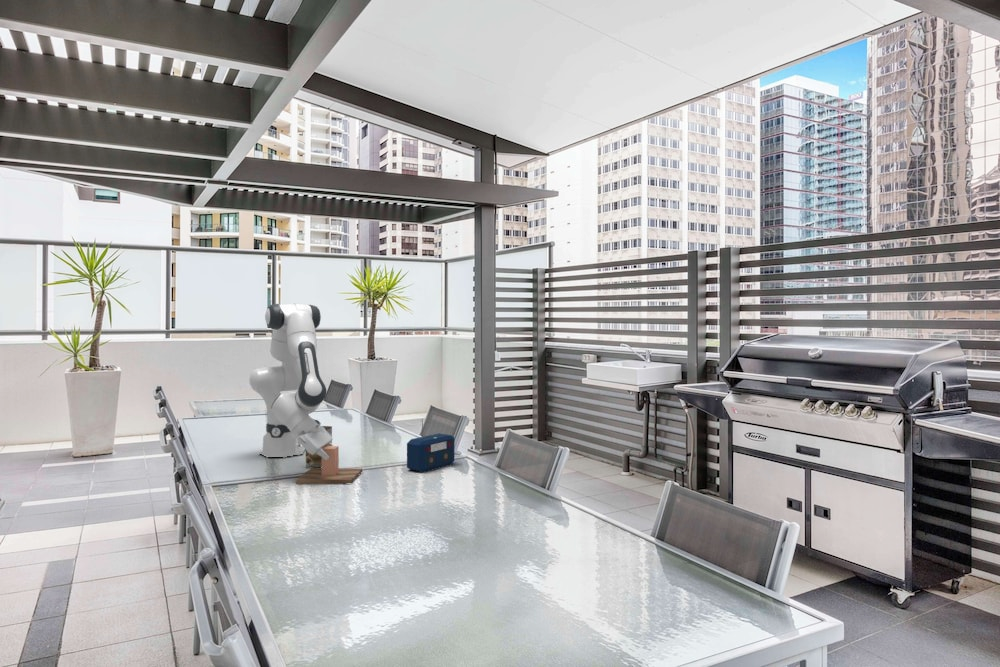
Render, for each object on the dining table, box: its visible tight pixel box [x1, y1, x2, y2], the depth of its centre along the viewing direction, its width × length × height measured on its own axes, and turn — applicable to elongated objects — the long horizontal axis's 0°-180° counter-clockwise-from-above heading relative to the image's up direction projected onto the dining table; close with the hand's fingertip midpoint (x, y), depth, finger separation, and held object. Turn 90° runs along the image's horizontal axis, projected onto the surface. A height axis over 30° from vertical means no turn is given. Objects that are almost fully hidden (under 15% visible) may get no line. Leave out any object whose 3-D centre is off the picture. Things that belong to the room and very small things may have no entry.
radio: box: [406, 419, 455, 473], centre depth 258 cm, size 21×9×20 cm, turn 143°
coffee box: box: [305, 425, 333, 468], centre depth 260 cm, size 9×6×16 cm
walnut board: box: [295, 467, 363, 485], centre depth 241 cm, size 18×20×2 cm
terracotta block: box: [322, 445, 340, 476], centre depth 241 cm, size 5×5×10 cm
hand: (331, 455), depth 241 cm, fingers open, 8 cm apart
